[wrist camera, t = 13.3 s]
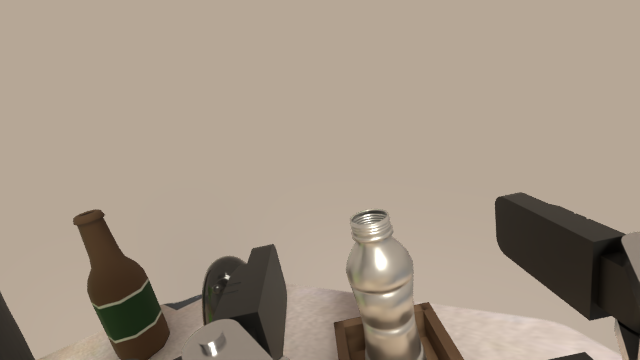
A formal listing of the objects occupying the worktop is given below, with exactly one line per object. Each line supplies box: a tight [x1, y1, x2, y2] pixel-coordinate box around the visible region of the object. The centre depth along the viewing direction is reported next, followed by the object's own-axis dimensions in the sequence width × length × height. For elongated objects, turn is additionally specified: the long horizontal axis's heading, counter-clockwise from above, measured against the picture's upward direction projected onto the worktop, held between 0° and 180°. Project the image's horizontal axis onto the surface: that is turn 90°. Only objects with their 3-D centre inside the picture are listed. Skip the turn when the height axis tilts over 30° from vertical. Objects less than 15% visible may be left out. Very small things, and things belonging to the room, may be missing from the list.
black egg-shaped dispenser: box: [202, 256, 247, 326], centre depth 42 cm, size 10×10×15 cm
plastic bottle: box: [346, 209, 427, 360], centre depth 31 cm, size 6×7×20 cm
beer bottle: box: [73, 210, 170, 360], centre depth 47 cm, size 8×8×24 cm
